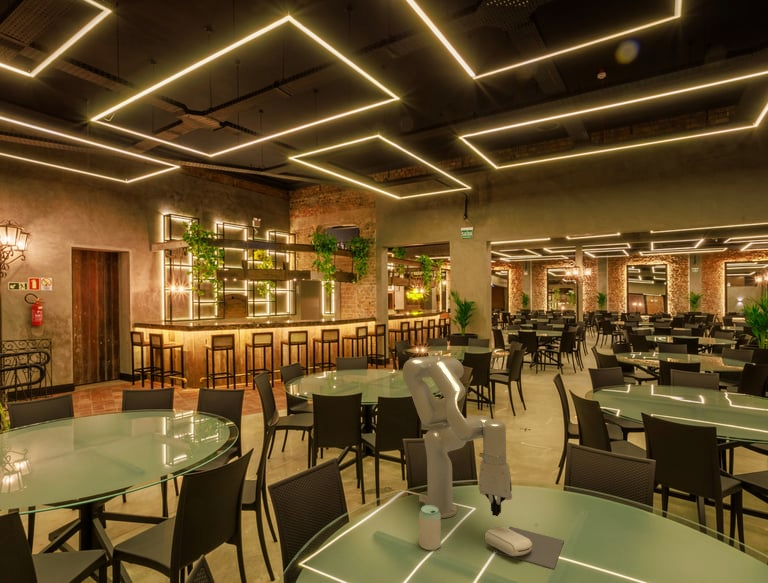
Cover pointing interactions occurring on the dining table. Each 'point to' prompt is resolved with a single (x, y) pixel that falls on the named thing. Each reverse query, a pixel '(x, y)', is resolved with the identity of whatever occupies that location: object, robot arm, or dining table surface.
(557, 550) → the rubber mat
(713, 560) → the dining table surface
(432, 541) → the can
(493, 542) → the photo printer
